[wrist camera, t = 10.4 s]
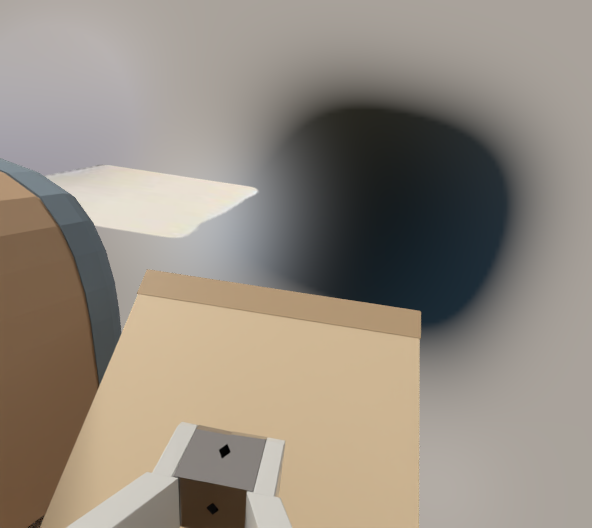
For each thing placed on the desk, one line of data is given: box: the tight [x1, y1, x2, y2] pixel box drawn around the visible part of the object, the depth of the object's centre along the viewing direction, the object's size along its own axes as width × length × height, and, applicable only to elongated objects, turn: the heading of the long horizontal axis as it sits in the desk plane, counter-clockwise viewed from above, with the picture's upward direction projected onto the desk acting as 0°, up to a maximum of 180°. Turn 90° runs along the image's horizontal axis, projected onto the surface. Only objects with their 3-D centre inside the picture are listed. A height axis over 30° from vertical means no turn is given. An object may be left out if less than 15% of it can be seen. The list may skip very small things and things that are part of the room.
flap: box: [40, 270, 421, 528], centre depth 14 cm, size 1×12×10 cm
